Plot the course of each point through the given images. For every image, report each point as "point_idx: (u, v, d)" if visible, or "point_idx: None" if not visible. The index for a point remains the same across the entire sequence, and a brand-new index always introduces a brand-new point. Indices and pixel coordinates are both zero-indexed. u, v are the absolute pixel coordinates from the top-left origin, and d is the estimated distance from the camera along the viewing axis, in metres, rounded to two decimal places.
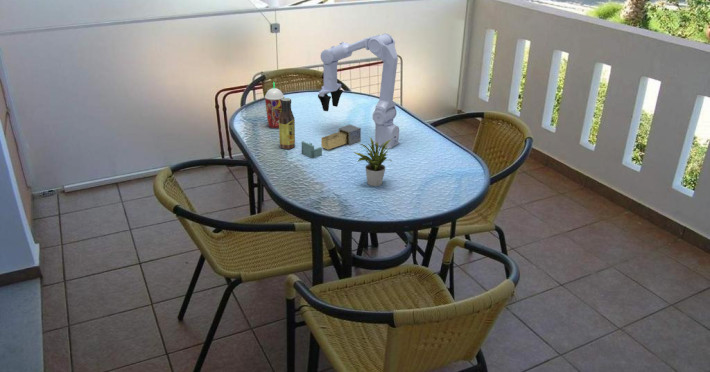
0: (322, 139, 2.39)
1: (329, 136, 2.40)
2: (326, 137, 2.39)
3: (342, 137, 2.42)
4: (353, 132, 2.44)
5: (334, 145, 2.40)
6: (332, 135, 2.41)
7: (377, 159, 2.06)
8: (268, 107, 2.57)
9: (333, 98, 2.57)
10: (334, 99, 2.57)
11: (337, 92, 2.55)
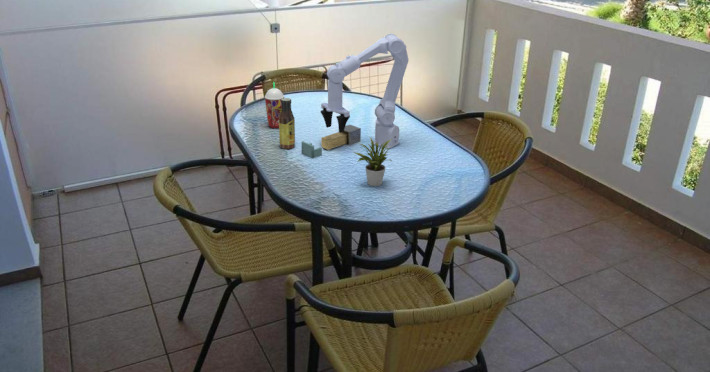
0: (322, 139, 2.39)
1: (329, 136, 2.40)
2: (326, 137, 2.39)
3: (342, 137, 2.42)
4: (353, 132, 2.44)
5: (334, 145, 2.40)
6: (332, 135, 2.41)
7: (377, 159, 2.06)
8: (268, 107, 2.57)
9: (327, 119, 2.40)
10: (328, 120, 2.41)
11: (331, 111, 2.40)
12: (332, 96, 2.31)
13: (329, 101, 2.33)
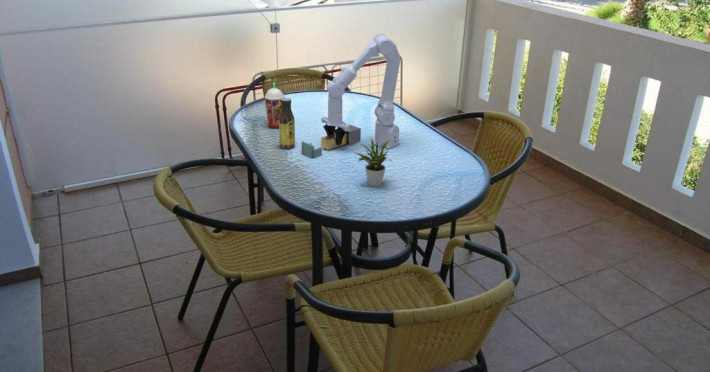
0: (322, 139, 2.39)
1: (329, 136, 2.40)
2: (326, 137, 2.39)
3: None
4: (353, 132, 2.44)
5: (334, 145, 2.40)
6: (332, 135, 2.41)
7: (377, 159, 2.06)
8: (268, 107, 2.57)
9: (330, 134, 2.42)
10: None
11: (333, 126, 2.42)
12: (332, 111, 2.34)
13: (329, 115, 2.36)
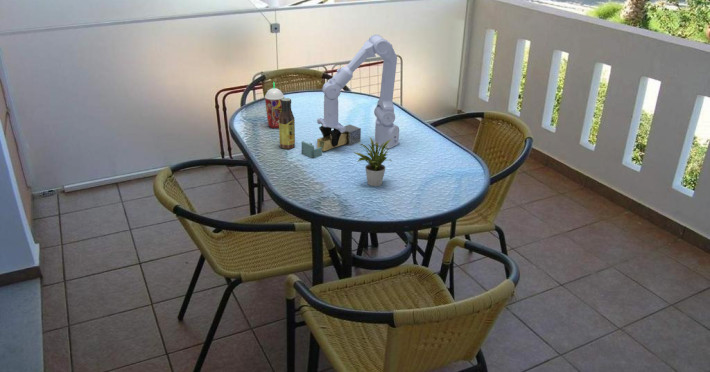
0: (318, 140, 2.37)
1: (325, 137, 2.39)
2: (322, 138, 2.37)
3: None
4: (353, 132, 2.44)
5: (330, 147, 2.39)
6: (328, 136, 2.40)
7: (377, 159, 2.06)
8: (268, 107, 2.57)
9: (326, 135, 2.41)
10: None
11: (329, 127, 2.41)
12: (328, 112, 2.32)
13: (325, 117, 2.34)
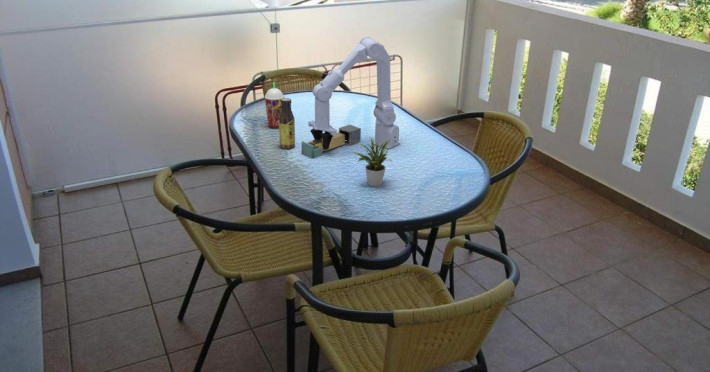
0: (309, 143, 2.34)
1: (316, 140, 2.36)
2: (313, 141, 2.34)
3: None
4: (353, 132, 2.44)
5: (322, 150, 2.36)
6: (319, 139, 2.37)
7: (377, 159, 2.06)
8: (268, 107, 2.57)
9: (317, 138, 2.38)
10: None
11: (321, 130, 2.38)
12: (320, 115, 2.29)
13: (316, 119, 2.31)
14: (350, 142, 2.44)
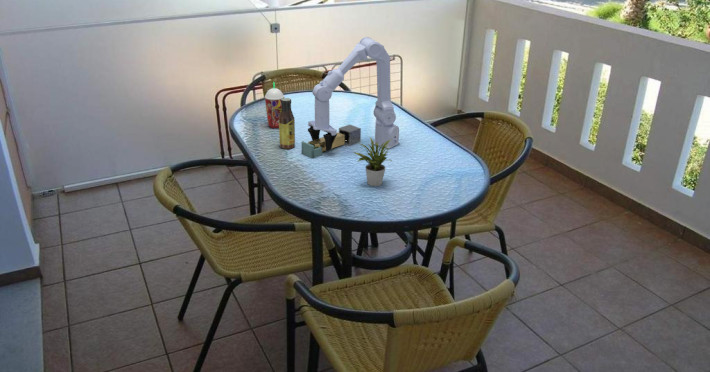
0: (309, 143, 2.34)
1: (316, 140, 2.36)
2: (313, 141, 2.34)
3: None
4: (353, 132, 2.44)
5: None
6: (319, 139, 2.37)
7: (377, 159, 2.06)
8: (268, 107, 2.57)
9: (314, 137, 2.38)
10: (315, 138, 2.39)
11: None
12: (320, 115, 2.29)
13: (316, 119, 2.31)
14: (350, 142, 2.44)
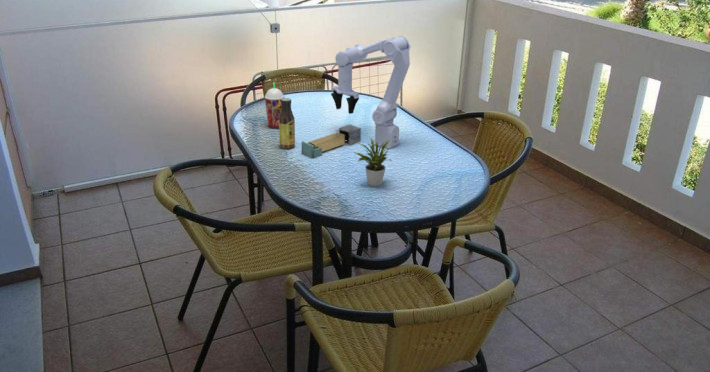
0: (309, 143, 2.34)
1: (316, 140, 2.36)
2: (313, 141, 2.34)
3: (329, 141, 2.37)
4: (353, 132, 2.44)
5: None
6: (319, 139, 2.37)
7: (377, 159, 2.06)
8: (268, 107, 2.57)
9: (337, 101, 2.53)
10: (338, 102, 2.54)
11: (341, 94, 2.53)
12: (338, 78, 2.46)
13: (339, 84, 2.46)
14: (350, 142, 2.44)
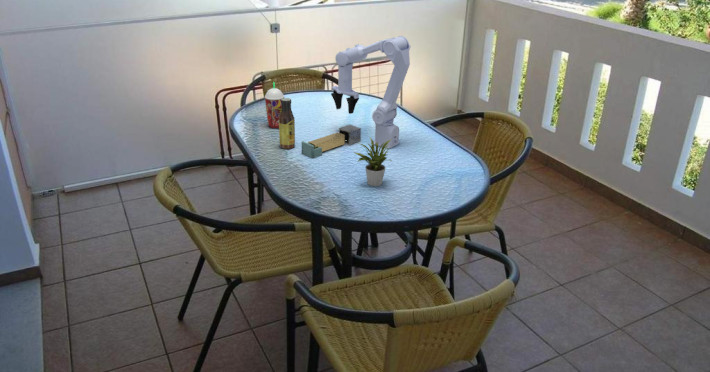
0: (309, 143, 2.34)
1: (316, 140, 2.36)
2: (313, 141, 2.34)
3: (329, 141, 2.37)
4: (353, 132, 2.44)
5: None
6: (319, 139, 2.37)
7: (377, 159, 2.06)
8: (268, 107, 2.57)
9: (337, 101, 2.53)
10: (338, 102, 2.54)
11: (341, 94, 2.53)
12: (338, 78, 2.46)
13: (339, 84, 2.46)
14: (350, 142, 2.44)
